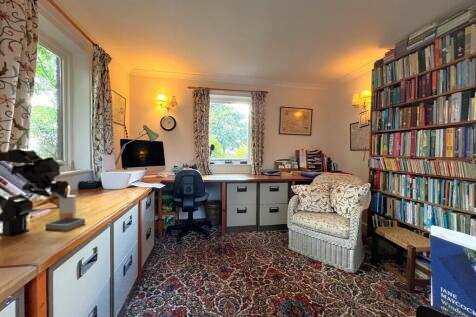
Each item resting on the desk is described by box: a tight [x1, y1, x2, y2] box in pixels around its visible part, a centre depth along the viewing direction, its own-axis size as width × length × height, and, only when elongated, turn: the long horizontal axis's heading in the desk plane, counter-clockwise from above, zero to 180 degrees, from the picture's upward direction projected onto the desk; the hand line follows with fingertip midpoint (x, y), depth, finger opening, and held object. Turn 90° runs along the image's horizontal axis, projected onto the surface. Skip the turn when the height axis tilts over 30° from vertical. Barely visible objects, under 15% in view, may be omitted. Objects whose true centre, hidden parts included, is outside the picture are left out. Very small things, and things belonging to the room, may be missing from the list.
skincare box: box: [58, 194, 77, 220], centre depth 112 cm, size 6×4×12 cm
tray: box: [45, 217, 86, 232], centre depth 102 cm, size 10×10×2 cm
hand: (57, 197), depth 106 cm, fingers open, 9 cm apart
